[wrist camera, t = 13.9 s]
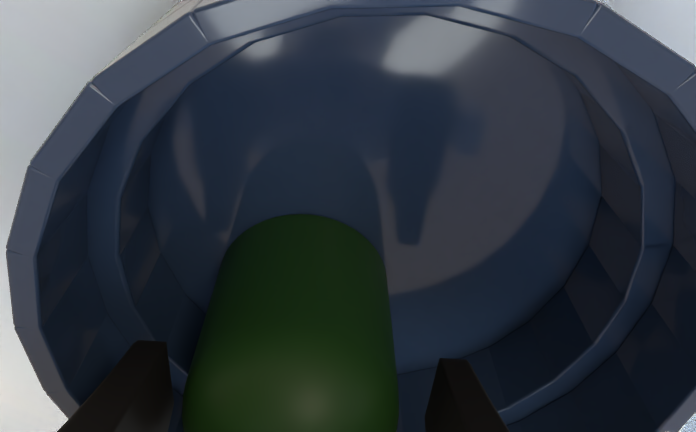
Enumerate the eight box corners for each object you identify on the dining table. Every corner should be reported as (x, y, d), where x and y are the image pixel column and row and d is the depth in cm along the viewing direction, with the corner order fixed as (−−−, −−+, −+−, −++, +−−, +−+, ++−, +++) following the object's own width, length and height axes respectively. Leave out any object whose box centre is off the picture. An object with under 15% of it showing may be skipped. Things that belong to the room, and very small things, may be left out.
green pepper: (193, 235, 14) (87, 499, 8) (364, 195, 14) (380, 449, 8) (254, 354, 17) (205, 625, 11) (402, 324, 16) (436, 596, 10)
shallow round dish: (377, -259, 9) (403, -354, 5) (736, 206, 15) (894, 345, 10) (12, 220, 15) (-119, 364, 11) (371, 438, 20) (379, 593, 16)
